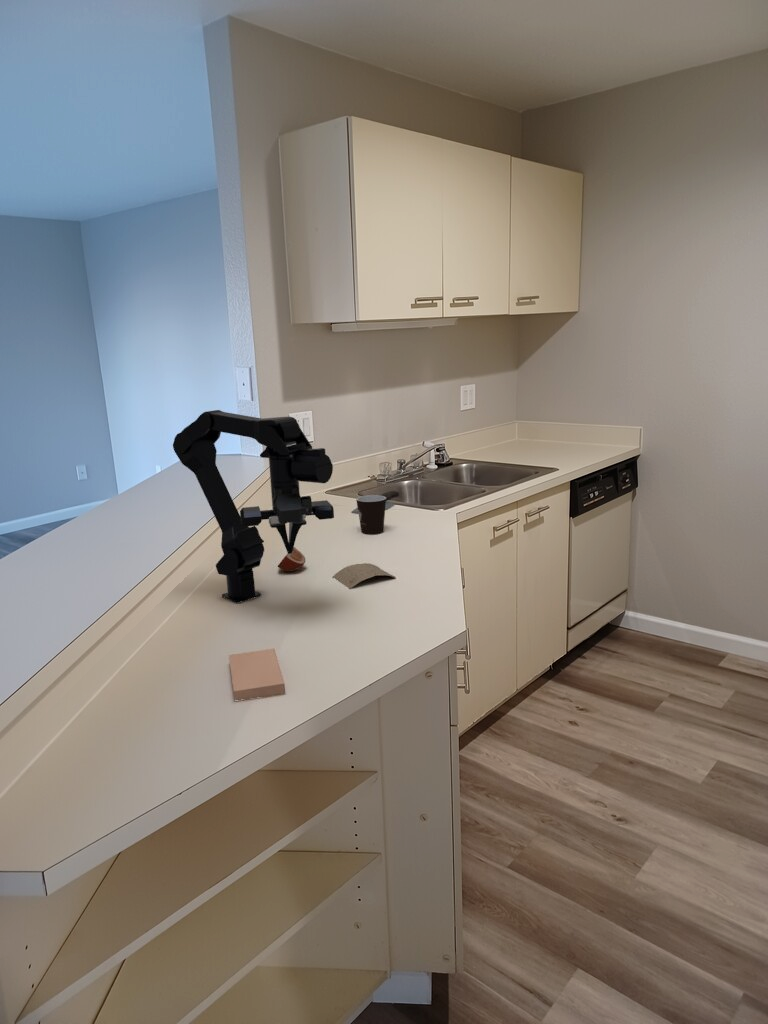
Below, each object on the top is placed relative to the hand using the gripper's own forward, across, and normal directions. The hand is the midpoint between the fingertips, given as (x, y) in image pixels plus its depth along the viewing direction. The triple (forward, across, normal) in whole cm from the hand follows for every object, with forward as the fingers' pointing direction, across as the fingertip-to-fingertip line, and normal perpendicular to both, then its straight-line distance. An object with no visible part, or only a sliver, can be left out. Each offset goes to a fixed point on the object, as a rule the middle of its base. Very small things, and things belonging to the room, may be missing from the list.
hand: (289, 553), depth 151 cm
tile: (+11, -10, -24) cm, 28 cm away
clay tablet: (+13, +19, +14) cm, 27 cm away
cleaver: (+13, +40, +86) cm, 96 cm away
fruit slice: (+12, +3, +26) cm, 29 cm away
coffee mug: (+12, +30, +55) cm, 64 cm away
